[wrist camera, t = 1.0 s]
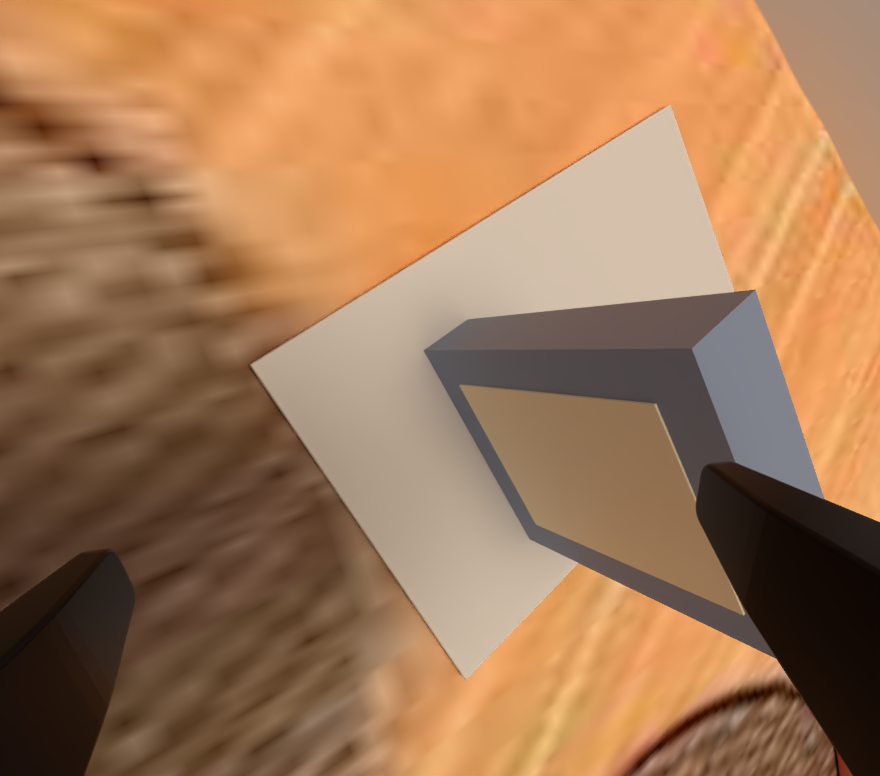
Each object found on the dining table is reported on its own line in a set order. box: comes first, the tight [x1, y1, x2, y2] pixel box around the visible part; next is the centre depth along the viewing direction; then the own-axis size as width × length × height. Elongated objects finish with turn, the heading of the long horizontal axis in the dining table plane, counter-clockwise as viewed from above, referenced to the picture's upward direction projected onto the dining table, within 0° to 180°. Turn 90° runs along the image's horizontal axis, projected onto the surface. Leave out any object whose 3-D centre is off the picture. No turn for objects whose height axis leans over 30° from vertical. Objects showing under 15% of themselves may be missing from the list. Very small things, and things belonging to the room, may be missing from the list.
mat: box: [249, 105, 735, 679], centre depth 26 cm, size 24×16×1 cm, turn 122°
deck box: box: [424, 290, 824, 658], centre depth 18 cm, size 2×10×12 cm, turn 32°
